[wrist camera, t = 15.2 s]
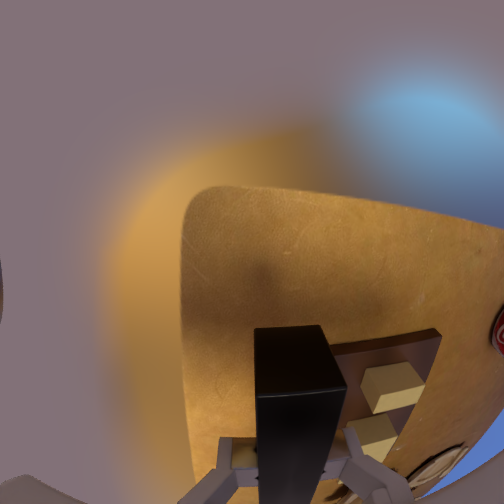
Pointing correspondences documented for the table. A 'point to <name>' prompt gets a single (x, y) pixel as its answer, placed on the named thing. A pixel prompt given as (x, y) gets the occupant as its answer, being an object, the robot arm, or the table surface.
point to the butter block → (374, 436)
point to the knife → (294, 410)
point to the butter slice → (391, 386)
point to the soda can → (499, 334)
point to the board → (381, 354)
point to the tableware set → (420, 473)
